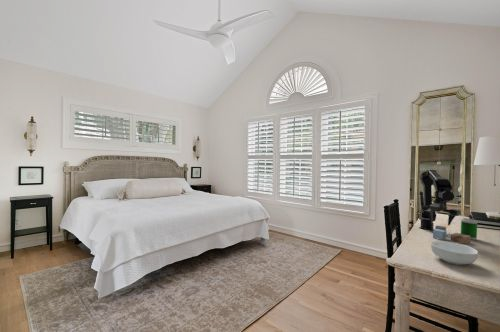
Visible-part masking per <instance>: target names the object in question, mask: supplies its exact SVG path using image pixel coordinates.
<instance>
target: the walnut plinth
mask: <svg viewBox="0 0 500 332" xmlns="http://www.w3.org/2000/svg"><path fill="white" fill-rule="evenodd" d="M450 236H451V238H449V239H450V241H449V242H453V243H458V244H462V245H467V244H470V243H471V240H470V236H469V235H464V234H461V232H453V233H450Z"/></svg>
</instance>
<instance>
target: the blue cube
mask: <svg viewBox="0 0 500 332" xmlns="http://www.w3.org/2000/svg"><path fill="white" fill-rule="evenodd" d="M446 235H447V230H446V231H444V230H440V229H435V228H433V230H432V239H433V238H434V239H436V240H440V241H444V240H446V239H447V237H446Z"/></svg>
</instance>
